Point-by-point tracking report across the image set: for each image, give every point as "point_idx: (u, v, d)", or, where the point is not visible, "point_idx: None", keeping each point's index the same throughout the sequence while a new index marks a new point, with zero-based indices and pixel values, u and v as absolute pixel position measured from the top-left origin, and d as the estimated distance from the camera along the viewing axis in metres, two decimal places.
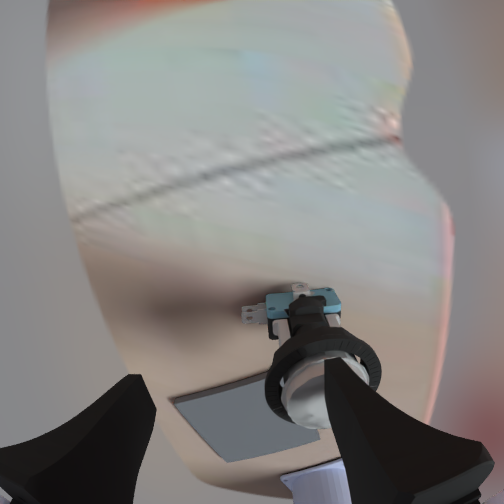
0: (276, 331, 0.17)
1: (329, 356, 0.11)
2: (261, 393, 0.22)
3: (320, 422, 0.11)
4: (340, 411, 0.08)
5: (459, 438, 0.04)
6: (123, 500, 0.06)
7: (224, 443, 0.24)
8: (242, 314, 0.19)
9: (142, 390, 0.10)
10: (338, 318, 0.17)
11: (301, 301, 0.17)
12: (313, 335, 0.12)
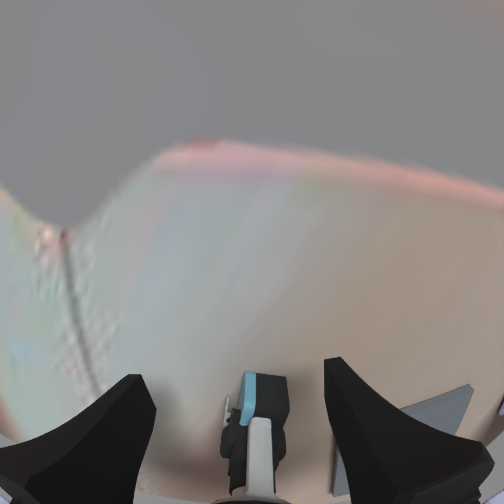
0: None
1: None
2: None
3: None
4: (340, 411, 0.08)
5: (459, 438, 0.04)
6: (123, 500, 0.06)
7: None
8: None
9: (142, 391, 0.10)
10: (254, 424, 0.11)
11: None
12: None
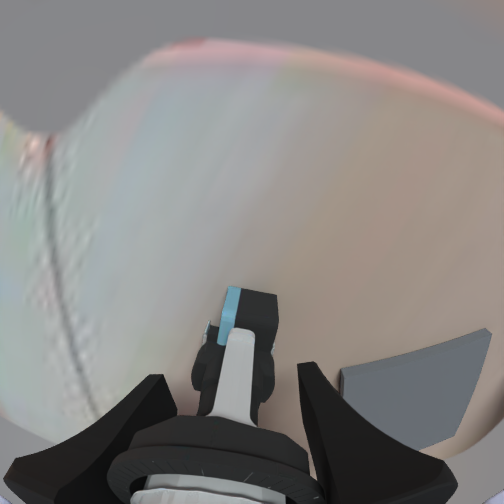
0: None
1: None
2: (365, 404, 0.14)
3: None
4: (309, 416, 0.08)
5: (422, 454, 0.04)
6: None
7: (423, 439, 0.15)
8: None
9: (164, 391, 0.10)
10: (233, 335, 0.10)
11: None
12: None
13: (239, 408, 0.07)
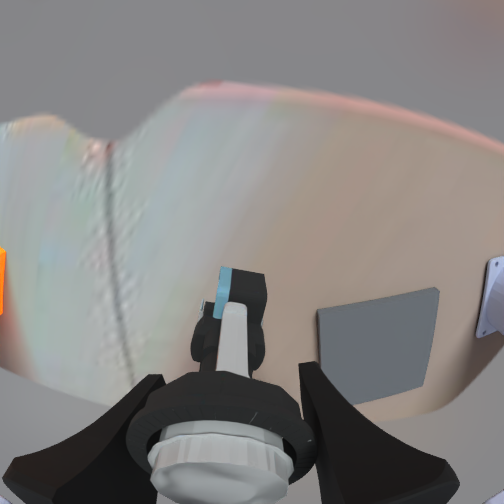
0: None
1: None
2: (337, 340, 0.21)
3: (263, 499, 0.06)
4: (311, 416, 0.08)
5: (424, 453, 0.04)
6: None
7: (393, 383, 0.22)
8: None
9: None
10: (228, 308, 0.11)
11: None
12: None
13: (239, 367, 0.08)
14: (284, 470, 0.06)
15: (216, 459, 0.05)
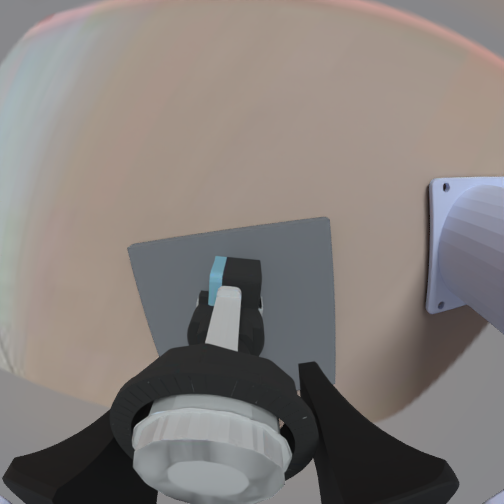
0: None
1: None
2: (161, 290, 0.15)
3: (260, 489, 0.05)
4: None
5: (424, 453, 0.04)
6: None
7: None
8: None
9: None
10: (221, 292, 0.11)
11: None
12: None
13: (228, 344, 0.08)
14: (277, 452, 0.05)
15: (193, 435, 0.05)
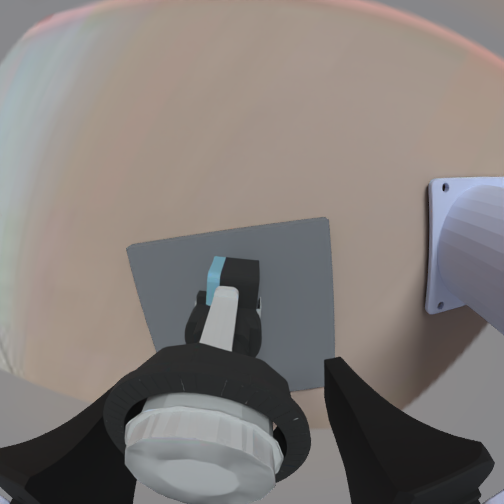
0: None
1: None
2: (160, 290, 0.15)
3: (250, 490, 0.05)
4: (340, 411, 0.08)
5: (459, 438, 0.04)
6: (123, 500, 0.06)
7: None
8: None
9: None
10: (218, 292, 0.11)
11: None
12: None
13: (222, 344, 0.08)
14: (267, 453, 0.05)
15: (182, 434, 0.05)
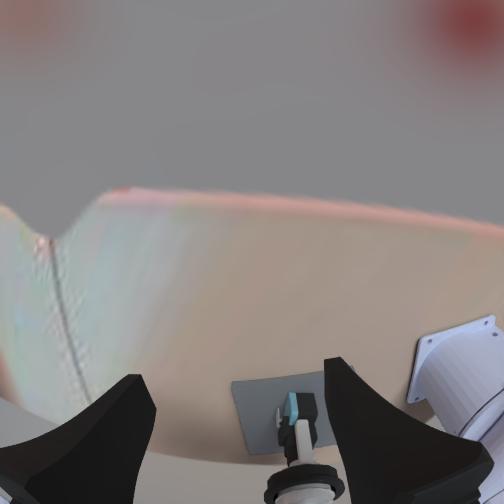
0: None
1: (278, 496, 0.14)
2: (252, 407, 0.23)
3: None
4: (340, 411, 0.08)
5: (459, 438, 0.04)
6: (123, 500, 0.06)
7: None
8: None
9: (142, 390, 0.10)
10: (299, 423, 0.19)
11: None
12: None
13: (310, 457, 0.16)
14: (331, 496, 0.13)
15: (308, 497, 0.13)
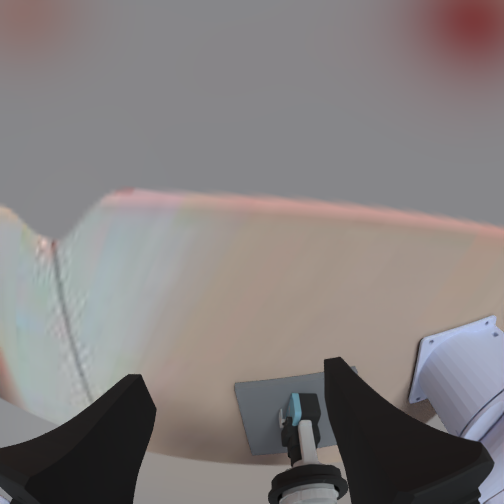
0: None
1: (282, 496, 0.14)
2: (255, 407, 0.23)
3: None
4: (340, 411, 0.08)
5: (459, 438, 0.04)
6: (123, 500, 0.06)
7: None
8: None
9: (142, 391, 0.10)
10: (302, 424, 0.19)
11: (281, 437, 0.20)
12: None
13: (313, 457, 0.16)
14: (335, 496, 0.13)
15: (312, 497, 0.13)
